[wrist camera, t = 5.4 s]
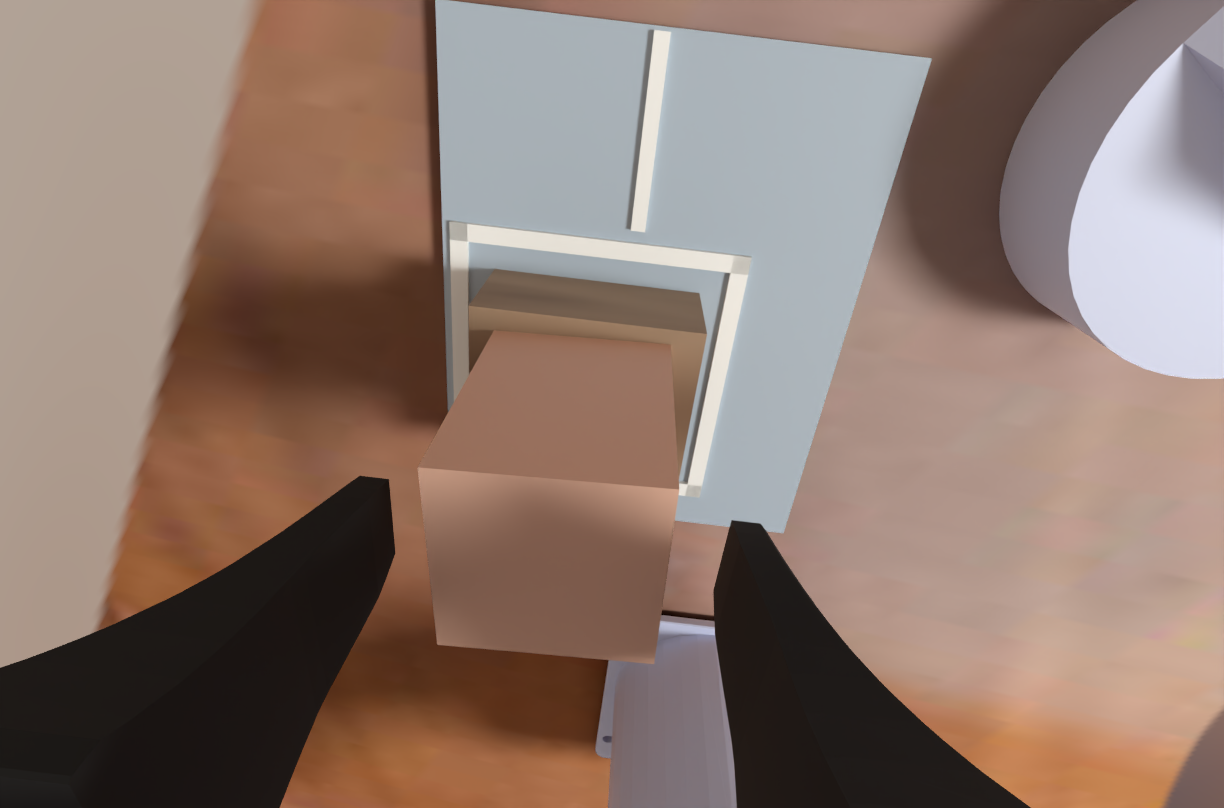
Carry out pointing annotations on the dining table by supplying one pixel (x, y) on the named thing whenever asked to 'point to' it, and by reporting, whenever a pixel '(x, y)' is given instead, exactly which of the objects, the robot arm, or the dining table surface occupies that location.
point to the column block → (554, 499)
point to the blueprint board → (678, 206)
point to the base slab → (597, 322)
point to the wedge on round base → (1129, 189)
